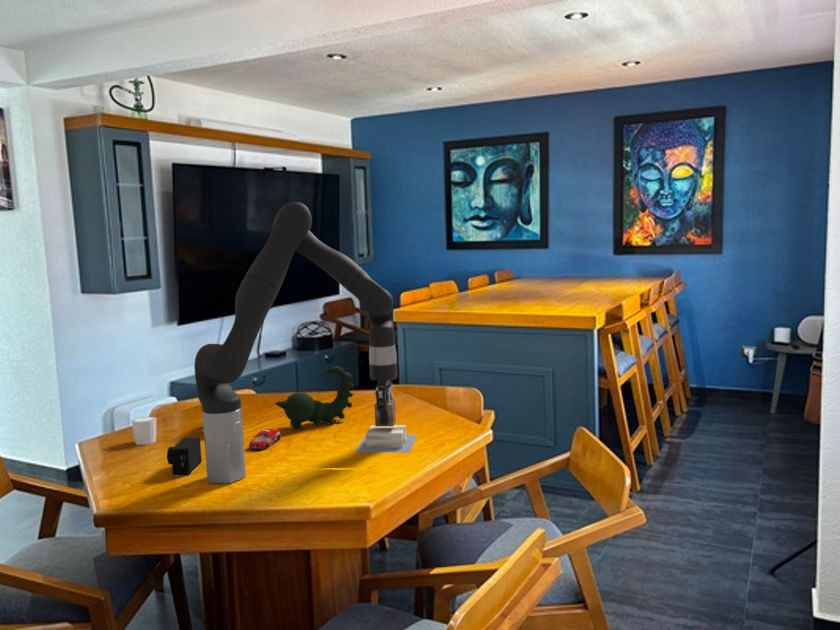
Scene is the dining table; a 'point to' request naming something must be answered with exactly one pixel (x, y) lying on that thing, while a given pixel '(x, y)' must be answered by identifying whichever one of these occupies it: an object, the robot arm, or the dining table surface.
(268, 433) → the race car
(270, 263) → the robot arm
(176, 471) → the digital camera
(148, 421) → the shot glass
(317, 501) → the dining table surface
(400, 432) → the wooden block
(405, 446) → the mat
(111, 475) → the dining table surface
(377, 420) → the walnut block
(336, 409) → the toy figurine
